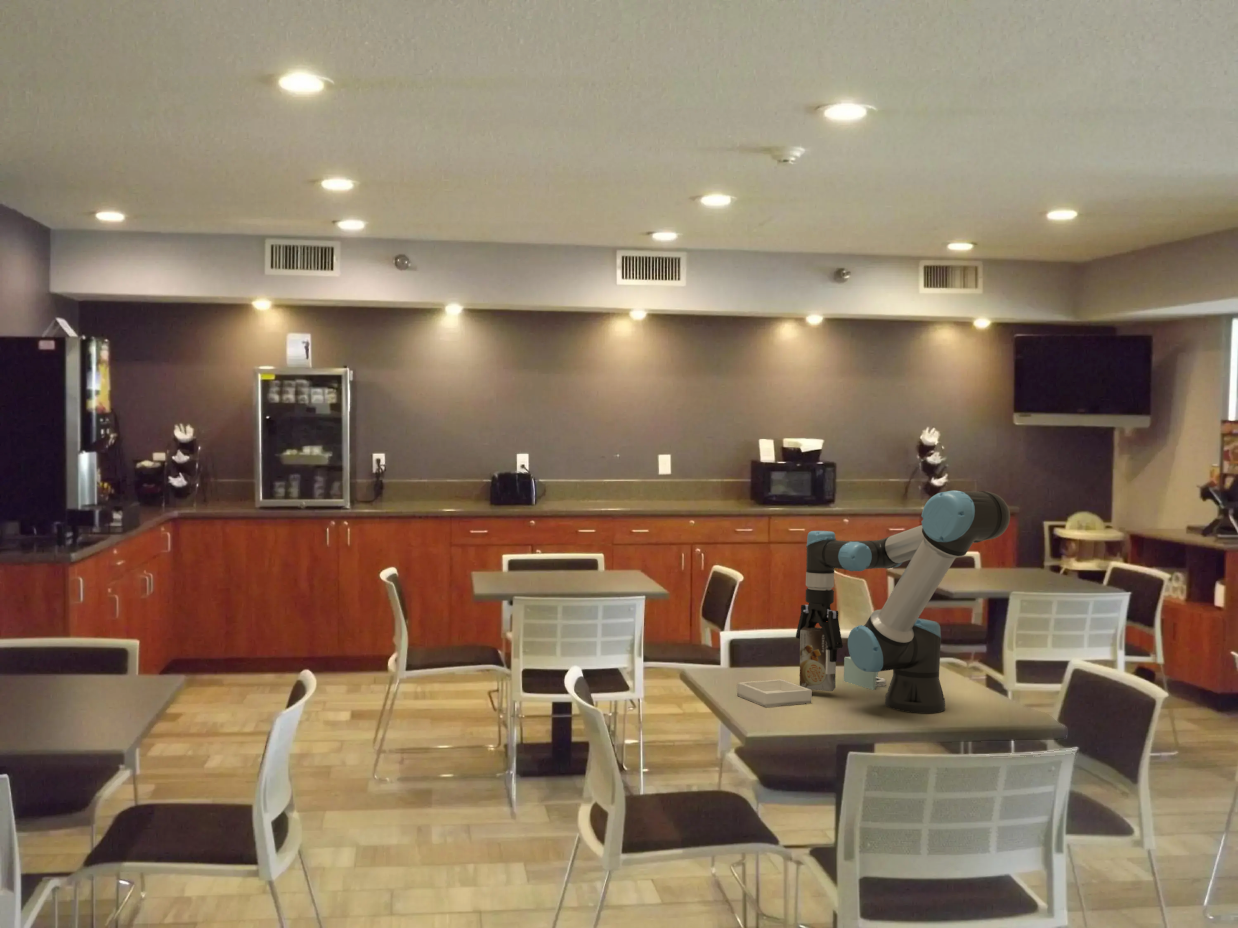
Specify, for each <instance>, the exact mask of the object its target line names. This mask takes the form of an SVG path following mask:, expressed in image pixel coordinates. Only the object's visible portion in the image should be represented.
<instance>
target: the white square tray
mask: <svg viewBox="0 0 1238 928" xmlns="http://www.w3.org/2000/svg"><path fill="white" fill-rule="evenodd" d="M736 686H737V687H736V696H737V697H739V698H742V699H744V700H745V701H746V700H747V701H749V702H752V703H753V704H754V703H755V704H756V705H758V706H761V707H764V708H775V706H776V707H782V706H781V705H788V706H797V705H796V704H799V705H807V703H811V704H812V700H813V699H812V697H813V696H812V694H813V693H812V692H813V690H810V689H808V688H805V687H802V686H800V684H799V685H798V684H796V683H793V682H791V681H788V680H784V679H781V678H780V679H769V680H768V679H767V680H755V681H743V682H737V685H736ZM805 703H806V704H805ZM794 704H795V705H794Z"/></svg>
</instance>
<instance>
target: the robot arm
mask: <svg viewBox="0 0 1238 928" xmlns="http://www.w3.org/2000/svg"><path fill="white" fill-rule="evenodd" d="M921 518H922V520H921V525H918V526H915V527H912V528H910V529H907V530H904V531H901V532H898V533H895V534H893V535H892V534H891V535H890V536H887V537H883V538H882V539H876V540H850V541H849V540H838V539H837V538H836V533H835V532H834V531H830V530H828V531H827V530H811V531H809V532H808V533H807V540H806V568H805V569H806V572H805V586H806V587H807V588H806V589H805V603H807V604H801V605H800V615H799V620H798V624H797V629H796V632H795V638H796V639H798V640H799V641H800V630H801V629H802V628H803V627H807V628H808V627H816V625H817V624H818V625H819V627H820V628H822V630H823V633H824V636H825V639H826V642H827V645H828V648H826V674H836V673H837V671H836V669H837V666H836V665H837V655H838V649H839V650H840V649H842V648H843V640H842V633H841V628H840V621H839V610H832V608H831V605H832V604H833V603H834V601H835V590H834V589H833V588H835V569H838V570H845V571H849V572H863V571H865V570H871V569H873V570H875V569H892V568H893V569H894V568H898V567H900V566H901V565H902V564H903V563H905V562H907V561H909V563H908V565H906V567H905V570H904V572H902V574H901V576H900V577H899V580H898V581H897V582H896V585H895V586H894V588H893V589H892V591H891V593H890V594H889V596H888V598H887V599H886V601H885V603H884V605H883V606H882V608H880V609H876V610H874V611H873V612H871V614H870V616H869V617H868V619H867V620H866V622H865V623H864V625H863V624H858V625H857V626H855V627H853V628H852V629H851V630H850V632H849V634H848V638H847V649H848V654H849V657H851V659H852V661H853V662H854V664H855V665H856V666H857V667H858V668H859V669H861V670H862V671H865V672H878V673H879V672H885V671H886V672H887V671H892V676H891V680H890V683H889V685H888V689H887V692H886V693H885V699H884V705H885V706H886V707H888V708H890V709H893V710H897V711H901V712H907V713H918V714H931V713H932V714H934V713H941V712H944V711H945V710H946V699H945V696H944V693H943V687H942V685H941V681H940V667H941V666H940V663H941V643H942V642H941V641H942V635H941V633H942V632H941V631H942V630H941V626H940V623H939V622H937V621H934V620H930V619H926V618H925V619H924V618H919V617H920V616H921V614H922V613H923V611H924V609H925V607H926V606H927V605H928V604H929V601H930V600H931V599H932V597H933V595H934V593H935V592H936V590H937V589H938V587H939V585H940V584H941V582H942V580H943V578H944V577H945V576H946V574H947V573H948V571H949V569H950V568H951V566H952V565H953V563H954V561H955V560H956V559H957V558H963V557H965V555H966V554H968V551H969V550H970V548H971V547H972V545H973V544H977V543H981V542H984V541H987V540H989V541H990V540H994V539H997V538H998V537H1001V535H1003V534H1004V533H1005V532H1006V530H1007V529H1008V527H1009V525H1010V520H1011V512H1010V508H1009V506H1008V504H1007V503H1006V501H1005V500H1004V498H1002V497H1001V496H1000V495H999V494H996V493H995V492H991V491H979V490H978V491H960V490H948V491H942V492H938V493H936V494H934V495H933V496H931V497H930V498H929V499H928V500H927V501H926V503H925V504H924V506H923V508H922V512H921Z"/></svg>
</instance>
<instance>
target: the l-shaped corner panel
mask: <svg viewBox="0 0 1238 928" xmlns="http://www.w3.org/2000/svg"><path fill="white" fill-rule="evenodd" d="M843 660H844V662H843V666H844V667H843V682H844V681H845V682H844V683H847V682H848V684H851V683H852V684H851V685H854V684H855V685H854V686H858V687H861V686H862V687H861V688H866V689H868V688H869V690H872V691H875V690H876V687H879V688H880V687H885V686H886V684H887V683H886V682H887V679H885V678H882V677H879V672H865V671H862V670H861V669H859V668H858V667H857V666H856V665H855V664H854V662H853V661H852V659H851V657H850V656H844V659H843Z"/></svg>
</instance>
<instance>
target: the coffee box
mask: <svg viewBox="0 0 1238 928" xmlns="http://www.w3.org/2000/svg"><path fill="white" fill-rule="evenodd" d="M826 648H828V645H827V642H826V639H825V636H824V633H823V630H822V627H816V626H815V627H808V628H807V627H803V628H802V629H801V630H800V640H799V686H802V687H805V688H808V689H810V690H812V691H824V692H833V691H834V690H835V689H836V688H837V687H836V682H837V681H836V677H837V676H836V674H826Z"/></svg>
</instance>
